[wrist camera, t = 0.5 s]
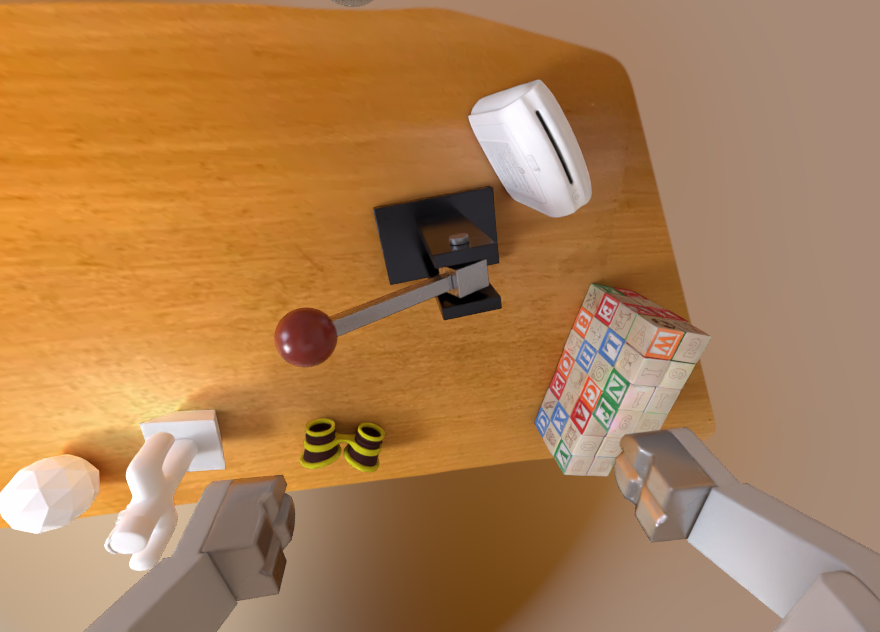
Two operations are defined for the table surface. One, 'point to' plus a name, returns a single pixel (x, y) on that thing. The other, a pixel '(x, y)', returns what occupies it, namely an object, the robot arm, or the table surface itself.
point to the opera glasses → (326, 447)
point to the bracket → (441, 242)
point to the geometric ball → (49, 493)
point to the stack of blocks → (615, 377)
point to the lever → (367, 313)
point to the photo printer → (532, 148)
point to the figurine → (163, 481)
